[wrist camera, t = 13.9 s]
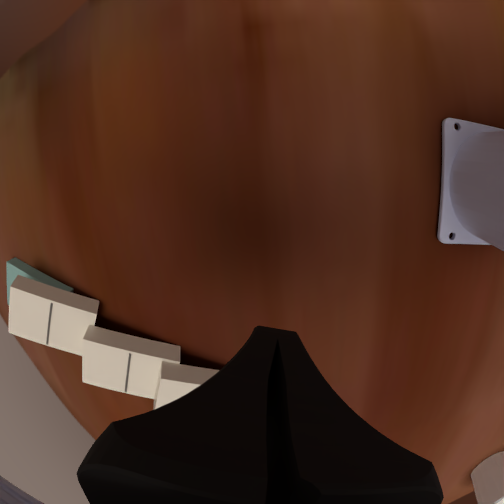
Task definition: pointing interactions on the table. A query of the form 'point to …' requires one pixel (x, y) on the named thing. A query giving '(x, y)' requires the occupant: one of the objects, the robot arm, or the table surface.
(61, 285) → the tile
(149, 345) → the tile
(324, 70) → the table surface
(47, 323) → the tile
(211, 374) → the tile
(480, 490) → the shot glass
